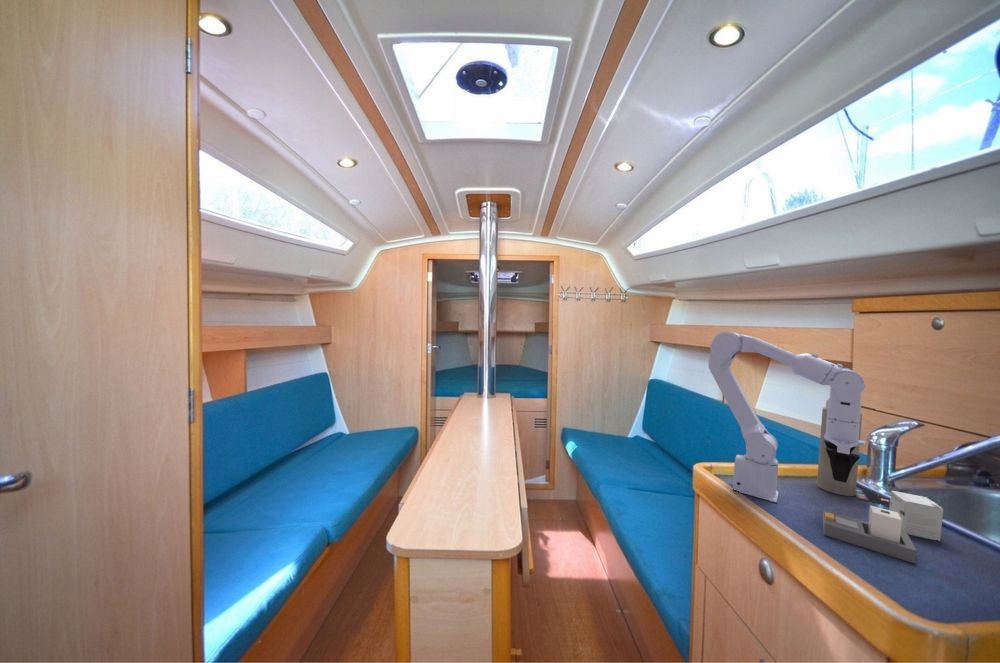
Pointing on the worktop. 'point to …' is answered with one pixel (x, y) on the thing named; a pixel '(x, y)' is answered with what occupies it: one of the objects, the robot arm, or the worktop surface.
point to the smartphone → (871, 497)
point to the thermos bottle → (824, 466)
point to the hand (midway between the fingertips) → (838, 476)
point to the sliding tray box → (866, 536)
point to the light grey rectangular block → (884, 524)
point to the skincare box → (917, 515)
